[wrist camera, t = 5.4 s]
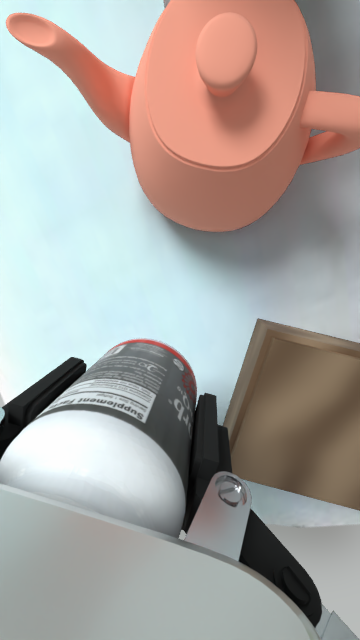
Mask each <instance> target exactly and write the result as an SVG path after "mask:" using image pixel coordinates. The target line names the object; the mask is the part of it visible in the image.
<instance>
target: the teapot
mask: <svg viewBox="0 0 360 640" xmlns="http://www.w3.org/2000/svg"><path fill="white" fill-rule="evenodd" d="M6 26H7V29H8V30H9V32H10V33H11V34H12V35H13V36H14V37H15V38H16V39H17V40H18V41H20V42H21V43H22V44H24V45H25V46H27V47H29V48H31V49H32V50H34V51H36V52H38V53H39V54H41V55H43V56H44V57H46V58H48V59H49V60H50V61H52V62H53V63H54V64H55V65H57V66H58V67H59V68H60V69H61V70H62V71H63V72H64V73H65V74H66V75H67V76H68V77H69V78H70V79H71V80H72V82H73V83H74V84H75V85H76V87H77V88H78V89H79V91H80V92H81V94H82V95H83V97H84V98H85V100H86V101H87V103H88V104H89V106H90V107H91V109H92V110H93V112H94V113H95V114H96V116H97V117H98V118H99V119H100V120H101V122H102V123H103V124H104V125H105V126H106V127H107V128H108V129H110V130H111V131H112V132H114V133H115V134H117V135H118V136H120V137H121V138H123V139H125V140H126V141H128V142H130V146H131V154H132V158H133V163H134V167H135V171H136V174H137V177H138V180H139V183H140V185H141V187H142V189H143V191H144V193H145V195H146V196H147V198H148V199H149V201H150V202H151V203H152V204H153V206H154V207H155V208H156V209H157V210H158V211H159V212H160V213H162V214H163V215H164V216H165V217H167V218H169V219H171V220H172V221H174V222H176V223H178V224H181V225H183V226H185V227H189V228H192V229H196V230H201V231H209V232H224V231H232V230H236V229H240V228H243V227H245V226H247V225H249V224H251V223H253V222H255V221H256V220H258V219H259V218H260V217H262V216H263V215H264V214H265V213H266V212H268V211H269V209H270V208H271V207H272V206H273V205H274V204H275V203H276V202H277V201H278V200H279V198H280V197H281V196H282V194H283V193H284V192H285V190H286V189H287V187H288V185H289V184H290V182H291V181H292V179H293V177H294V175H295V173H296V171H297V169H298V167H299V165H301V164H306V163H311V162H315V161H320V160H324V159H328V158H333V157H337V156H341V155H344V154H347V153H349V152H352V151H354V150H357V149H359V148H360V96H355V95H350V94H342V93H334V92H323V91H316V78H315V63H314V56H313V50H312V45H311V40H310V35H309V32H308V28H307V25H306V22H305V20H304V17H303V15H302V13H301V11H300V9H299V7H298V5H297V3H296V2H295V1H294V0H170V2H169V3H168V5H167V6H166V8H165V9H164V11H163V13H162V14H161V16H160V17H159V19H158V21H157V23H156V25H155V27H154V29H153V31H152V33H151V36H150V38H149V40H148V43H147V45H146V48H145V50H144V53H143V55H142V58H141V60H140V63H139V67H138V70H137V73H136V77H133V76H129V75H126V74H124V73H121V72H119V71H117V70H115V69H113V68H111V67H109V66H108V65H106V64H105V63H103V62H102V61H101V60H99V59H98V58H97V57H96V56H95V55H94V54H92V53H91V52H90V51H89V50H88V49H87V48H86V47H85V46H84V45H83V44H81V43H80V42H79V41H78V40H77V39H75V38H74V37H73V36H71V35H70V34H69V33H68V32H66V31H65V30H63V29H62V28H60V27H59V26H57V25H56V24H54V23H52V22H51V21H49V20H47V19H45V18H42V17H39V16H37V15H33V14H28V13H14V14H11V15H9V16H8V18H7V20H6ZM311 129H316V130H323V131H326V132H323V133H321V134H318V135H315V136H313V137H310V133H311ZM309 137H310V138H309Z"/></svg>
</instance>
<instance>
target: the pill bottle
mask: <svg viewBox="0 0 360 640" xmlns="http://www.w3.org/2000/svg"><path fill="white" fill-rule="evenodd" d="M196 397H197V386H196V380H195V376H194V373H193V371H192V369H191V367H190V365H189V363H188V362H187V360H186V359H185V358H184V357H183V356H182V355H181V354H180V353H179V352H178V351H177V350H176V349H174V348H173V347H171V346H169V345H168V344H165V343H163V342H161V341H157V340H154V339H147V338H138V339H131V340H127V341H125V342H122V343H120V344H118V345H116V346H115V347H113V348H112V349H111V350H109V351H108V352H107V353H106V354H105V355H104V356H103V357H102V358H100V359H99V360H98V361H97V362H96V363H95V364H94V365H93V366H92V367H91V368H90V369H88V370H87V371H86V372H85V373H84V374H83V375H82V376H81V377H80V378H79V379H78V380H76V381H75V382H74V383H73V384H72V385H71V386H70V387H69V388H68V389H67V390H66V391H65V392H63V393H62V394H61V395H60V396H59V397H58V398H57V399H56V400H55V401H54V402H53V403H51V404H50V405H49V406H48V407H47V408H46V409H45V410H44V411H43V412H42V413H41V414H39V415H38V416H37V417H36V418H35V419H34V420H33V421H32V422H30V423H29V424H28V425H27V426H26V427H25V428H24V429H23V430H22V431H21V433H20V434H19V435H18V436H17V437H16V438H15V439H14V440H13V441H12V442H11V444H10V445H9V446H8V448H7V449H6V451H5V453H4V454H3V456H2V458H1V460H0V483H1V484H4V485H7V486H11V487H14V488H17V489H21V490H24V491H27V492H31V493H34V494H37V495H40V496H44V497H47V498H50V499H54V500H57V501H60V502H63V503H67V504H70V505H73V506H76V507H80V508H83V509H86V510H89V511H93V512H96V513H99V514H102V515H106V516H109V517H112V518H115V519H118V520H122V521H125V522H128V523H131V524H134V525H137V526H141V527H144V528H147V529H150V530H153V531H157V532H160V533H163V534H166V535H169V536H172V537H175V538H179V535H180V532H181V528H182V525H183V520H184V516H185V511H186V499H187V488H188V479H189V467H190V457H191V447H192V437H193V427H194V417H195V407H196Z"/></svg>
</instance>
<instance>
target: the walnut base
mask: <svg viewBox="0 0 360 640" xmlns="http://www.w3.org/2000/svg"><path fill="white" fill-rule="evenodd" d="M223 426H224V427H227V428H228V436H229V445H230V455H231V465H232V474H235V475H236V476H238V477H239V478H240V479H244V480H248V481H251V482H255V483H259V484H262V485H266V486H270V487H274V488H277V489H281V490H285V491H289V492H292V493H296V494H300V495H304V496H307V497H311V498H315V499H318V500H322V501H326V502H330V503H333V504H337V505H341V506H345V507H348V508H352V509H356V510H359V511H360V343H356V342H352V341H348V340H344V339H340V338H336V337H332V336H327V335H323V334H319V333H315V332H311V331H307V330H303V329H299V328H295V327H291V326H287V325H282V324H278V323H274V322H270V321H266V320H262V319H257V322H256V325H255V328H254V331H253V334H252V337H251V340H250V343H249V346H248V349H247V353H246V356H245V359H244V362H243V365H242V368H241V371H240V374H239V377H238V380H237V383H236V386H235V389H234V392H233V396H232V399H231V402H230V405H229V408H228V411H227V414H226V417H225V420H224V423H223Z"/></svg>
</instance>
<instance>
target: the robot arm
mask: <svg viewBox="0 0 360 640" xmlns="http://www.w3.org/2000/svg"><path fill="white" fill-rule="evenodd" d="M85 372H86V364H85V363H84V361H83V360H82V359H78V358H74V357H71V358H69V359H68V360H67V361H65V362H64V363H63V364H61V365H60V366H58V367H57V368H56V369H54V370H53V371H51V372H50V373H49V374H47V375H46V376H45V377H43V378H42V379H40V380H39V381H38V382H36V383H35V384H34V385H32V386H31V387H29V388H28V389H27V390H25V391H24V392H23V393H21V394H20V395H18V396H17V397H16V398H14V399H13V400H12V401H10V402H9V403H7V404H6V405H5V406H3V407H2V408H1V407H0V460H1V458H2V456H3V454H4V453H5V451H6V449H7V448H8V446H9V445H10V444H11V442H12V441H13V440H14V439H15V438H16V437H17V436H18V435H19V434H20V433H21V431H22V430H23V429H24V428H25V427H26V426H27V425H28V424H29V423H30V422H32V421H33V420H34V419H35V418H36V417H37V416H38V415H39V414H41V413H42V412H43V411H44V410H45V409H46V408H47V407H48V406H49V405H50V404H51V403H53V402H54V401H55V400H56V399H57V398H58V397H59V396H60V395H61V394H62V393H63V392H65V391H66V390H67V389H68V388H69V387H70V386H71V385H72V384H73V383H74V382H75V381H76V380H78V379H79V378H80V377H81V376H82V375H83V374H84V373H85ZM251 500H252V497H251V493H250V490H249V488H248V487H247V485H246V484H245V483H244V481H243V480H242V479H240V478H239V477H238V476H236V475H235V474H232V465H231V455H230V445H229V436H228V428H227V427H224V426H220V425H217V403H216V396H215V395H211V394H208V393H205V394H204V395H200V397H199V400H198V404H197V407H196V411H195V417H194V427H193V437H192V447H191V457H190V467H189V479H188V488H187V499H186V511H185V516H184V520H183V525H182V528H181V530H184V531H185V533H186V534H187V535H186V537H185V539H184V540H180V539H178V538H175V537H172V536H169V535H166V534H163V533H160V532H157V531H153V530H150V529H147V528H144V527H141V526H137V525H134V524H131V523H128V522H125V521H122V520H118V519H115V518H112V517H109V516H106V515H102V514H99V513H96V512H93V511H89V510H86V509H83V508H80V507H76V506H73V505H70V504H67V503H63V502H60V501H57V500H54V499H50V498H47V497H44V496H40V495H37V494H34V493H31V492H27V491H24V490H21V489H17V488H14V487H11V486H7V485H4V484H1V483H0V640H359V639H358V638H357V636H356V635H355V634H354V633H353V632H352V631H351V630H350V629H349V628H348V626H347V625H346V624H345V623H344V622H343V621H342V620H341V619H340V617H339V616H338V615H337V614H336V613H335V612H334V611H333V612H332V613H331V614H330V613H329V612H328V610H327V609H326V608H325V607H324V606H323V605H322V604H321V599H320V596H319V593H318V590H317V588H316V586H315V584H314V583H313V580H312V579H311V577H310V576H309V575H308V574H307V572H306V571H305V569H304V568H303V567H302V566H301V565H300V564H299V563H298V562H297V560H296V559H295V558H294V557H293V556H292V555H291V554H290V553H289V551H288V550H287V549H286V548H285V547H284V546H283V545H282V544H281V542H280V541H279V540H278V539H277V538H276V537H275V535H274V534H273V533H272V532H271V531H270V530H269V529H268V527H267V526H266V525H265V524H264V523H263V522H262V521H261V520H260V518H259V517H258V516H257V515H256V514H255V513H254V512H253V510H252V509H251V508H250V507H251Z"/></svg>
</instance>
